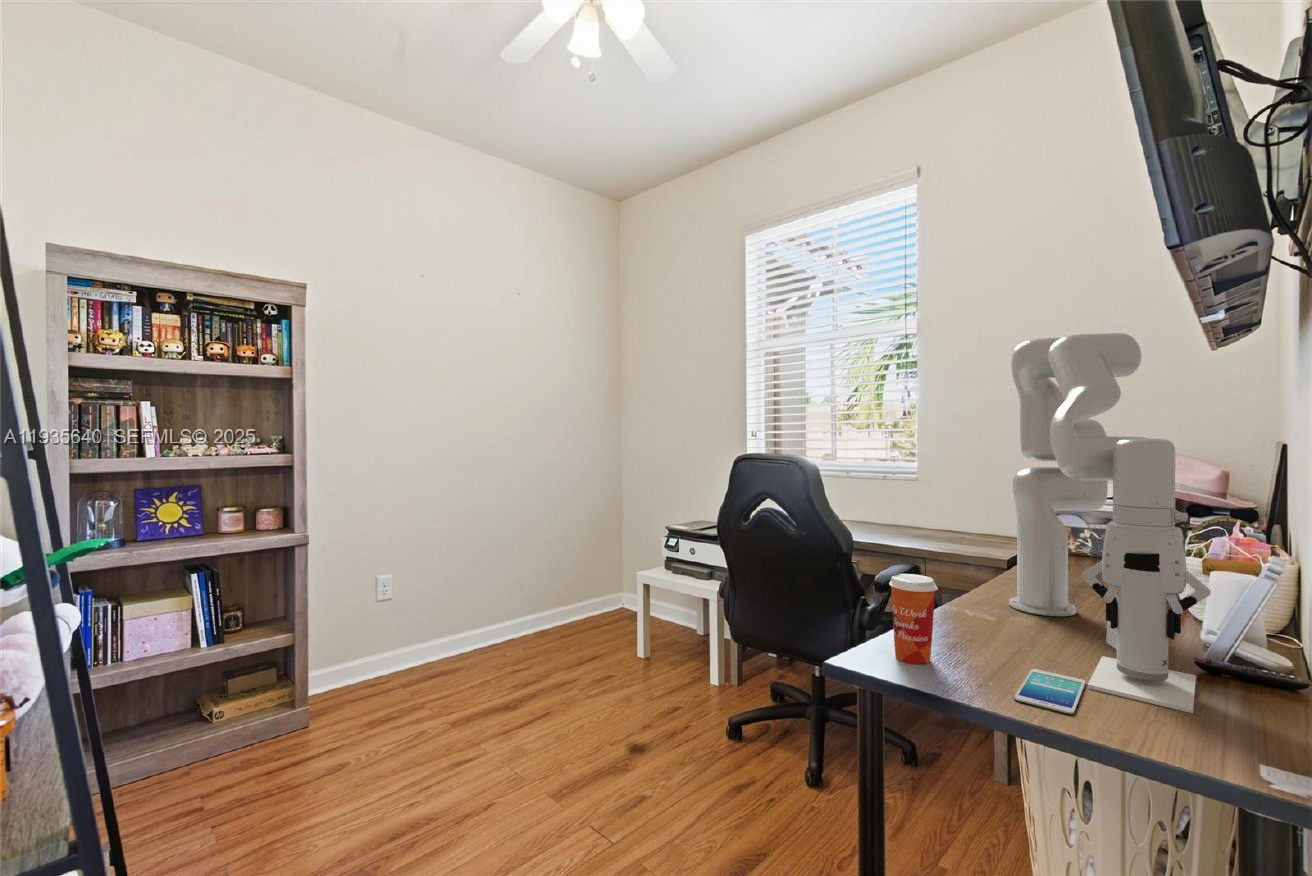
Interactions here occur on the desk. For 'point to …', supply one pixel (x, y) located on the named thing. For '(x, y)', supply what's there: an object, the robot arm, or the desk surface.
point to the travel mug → (1142, 619)
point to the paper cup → (913, 617)
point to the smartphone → (1051, 691)
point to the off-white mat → (1145, 686)
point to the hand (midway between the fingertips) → (1142, 630)
